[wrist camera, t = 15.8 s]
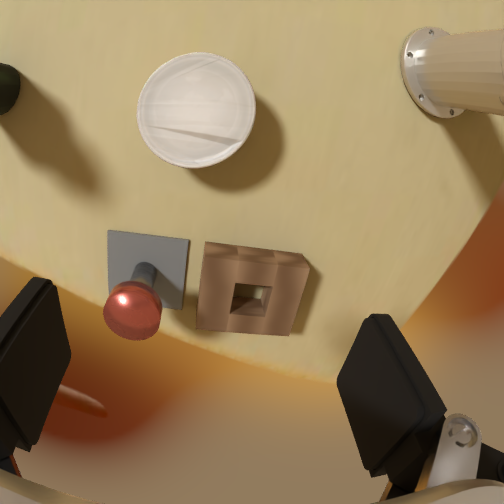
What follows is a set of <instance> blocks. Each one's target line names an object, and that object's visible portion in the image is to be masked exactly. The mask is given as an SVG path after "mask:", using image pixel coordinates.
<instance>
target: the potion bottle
mask: <svg viewBox="0 0 504 504" xmlns="http://www.w3.org/2000/svg"><path fill="white" fill-rule="evenodd" d="M19 89H20V79H19V74H18V73H17V71H16V69H15V68H13V67H12V66H10V65H7V64H3V63H0V115H2V114H4V113H6V112H8V111H9V109H10V108H11V107H12V106H13V105H14V103H15V101H16V99H17V97H18V94H19Z"/></svg>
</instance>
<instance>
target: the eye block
mask: <svg viewBox="0 0 504 504" xmlns="http://www.w3.org/2000/svg"><path fill="white" fill-rule="evenodd" d="M309 271H310V268H309V266H308V264H307V262H306V261H305V259H304V257H303V255H302V254H300V253H292V252H284V251H276V250H268V249H260V248H252V247H244V246H236V245H228V244H220V243H212V242H205V248H204V255H203V262H202V270H201V278H200V286H199V294H198V302H197V312H196V329H201V330H211V331H222V332H234V333H247V334H261V335H278V336H289V335H290V332H291V329H292V326H293V323H294V319H295V316H296V313H297V310H298V307H299V304H300V301H301V297H302V294H303V291H304V288H305V284H306V281H307V278H308V274H309ZM235 283H242V284H252V285H261V286H264V288H263V292H262V296H261V299H255V298H245V297H235V296H233V292H234V287H235Z"/></svg>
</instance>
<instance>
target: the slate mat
mask: <svg viewBox="0 0 504 504" xmlns="http://www.w3.org/2000/svg"><path fill="white" fill-rule="evenodd" d="M188 241H189V240H188V239H180V238H171V237H163V236H155V235H147V234H139V233H130V232H122V231H114V230H108V285H109V294H110V292H111V290H112V289H113V288H114V287H115V286H116V285H117V284H119V283H121V282H125V281H130V278H131V276H132V273H133V271H134V268H135V266H136V265H137V264H138V263H140V262H148V263H151V264H152V265H153V266H154V267H155V268H156V270H157V277H156V281H155V285H154V288H153V290H155V292H156V293H157V294H158V295H159V297H160V299H161V302H162V307H163V308H171V309H179V310H182V300H183V289H184V278H185V268H186V259H187V250H188Z"/></svg>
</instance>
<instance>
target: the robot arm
mask: <svg viewBox="0 0 504 504" xmlns="http://www.w3.org/2000/svg"><path fill="white" fill-rule="evenodd" d="M407 55H408V56H407ZM401 71H402V76H403V79H404V83H405V85H406V87H407V90H408V92H409V93H410V95H411V97H412V98H413V100H414V101H415V102H416V103H417V105H418V106H419V107H421V108H422V109H423V110H424V111H425V112H427V113H429V114H430V115H433V116H436V117H440V118H453V117H456V116H458V115H460V114H462V113H463V112H464V111H465V110H472V111H478V112H484V113H490V114H495V115H501V116H504V29H495V30H484V31H475V32H467V33H460V34H453V35H450V34H449V33H448V32H446V31H444V30H442V29H439V28H435V27H426V28H421V29H418V30H416V31H414V32H413V33H412V34H410V35H409V37H408V38H407V39H406V40H405V43H404V45H403V47H402V52H401ZM70 359H71V350H70V346H69V342H68V338H67V334H66V329H65V325H64V321H63V316H62V311H61V307H60V302H59V296H58V291H57V287H56V286H55V285H53V283H52V281H51V280H49V279H44V278H39V277H33V278H32V279H31V280H30V281H29V282H28V283H27V285H26V286H25V287H24V288H23V289H22V290H21V292H20V293H19V294H18V295H17V296H16V298H15V299H14V300H13V301H12V303H11V304H10V305H9V306H8V308H7V309H6V310H5V312H4V313H3V314H2V315H1V317H0V504H103V503H99V502H94V501H90V500H87V499H83V498H80V497H76V496H73V495H70V494H66V493H63V492H60V491H57V490H54V489H51V488H48V487H45V486H43V485H40V484H37V483H34V482H31V481H29V480H26V479H24V478H22V475H21V473H20V471H19V468H18V466H17V463H16V460H15V458H14V455H13V452H14V449H15V447H18V448H20V449H23V450H25V451H28V452H30V450H31V447H32V445H35V444H36V443H37V442H38V440H39V437H40V434H41V431H42V428H43V426H44V423H45V420H46V418H47V415H48V412H49V410H50V407H51V405H52V402H53V400H54V398H55V395H56V393H57V390H58V388H59V385H60V383H61V381H62V378H63V376H64V374H65V371H66V369H67V367H68V365H69V362H70ZM337 387H338V390H339V393H340V396H341V399H342V402H343V405H344V407H345V411H346V414H347V417H348V419H349V423H350V426H351V429H352V432H353V435H354V438H355V441H356V444H357V447H358V450H359V453H360V457H361V460H362V463H363V466H364V468H365V469H366V470H369V472H370V475H371V477H377V476H381V475H386V474H387V475H388V478H389V481H388V483H387V485H386V487H385V490H384V492H383V494H382V496H381V498H380V500H379V502H376V503H372V504H504V453H502V452H500V451H498V450H496V449H494V448H492V447H490V446H488V445H486V444H484V443H482V442H481V440H482V439H481V432H480V429H479V427H478V426H477V424H476V423H475V422H474V421H473V420H472V419H471V418H469V417H468V416H466V415H463V414H452V415H450V416H448V417H447V418H445V416H444V414H445V412H446V411H447V409H446V407H445V405H444V403H443V401H442V400H441V398H440V396H439V394H438V393H437V391H436V389H435V387H434V386H433V384H432V382H431V381H430V379H429V377H428V375H427V374H426V372H425V371H424V369H423V367H422V365H421V364H420V362H419V361H418V359H417V357H416V356H415V354H414V352H413V351H412V349H411V348H410V346H409V344H408V343H407V341H406V340H405V338H404V336H403V335H402V333H401V332H400V330H399V329H398V327H397V325H396V324H395V322H394V321H393V319H392V318H391V316H390V315H388V314H371V315H370V316H369V317H368V318H366V319H365V320H364V321H363V323H362V325H361V328H360V330H359V332H358V334H357V337H356V339H355V341H354V343H353V345H352V347H351V350H350V352H349V354H348V356H347V358H346V360H345V362H344V364H343V366H342V368H341V370H340V373H339V375H338V377H337Z"/></svg>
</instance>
